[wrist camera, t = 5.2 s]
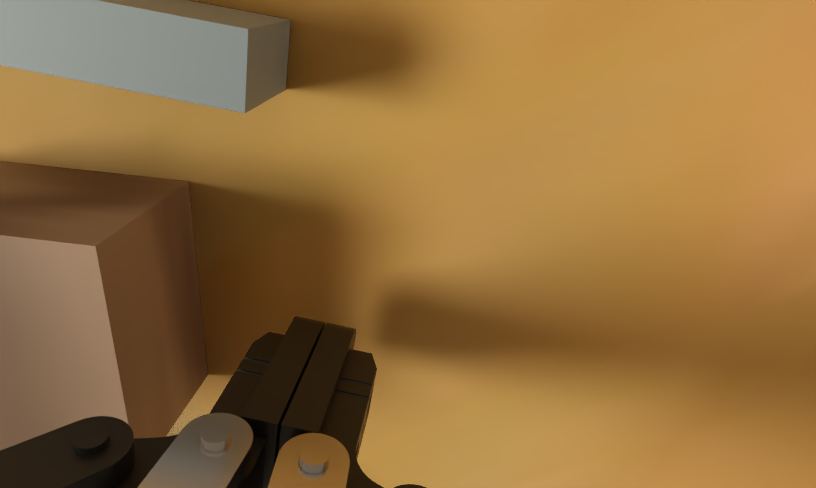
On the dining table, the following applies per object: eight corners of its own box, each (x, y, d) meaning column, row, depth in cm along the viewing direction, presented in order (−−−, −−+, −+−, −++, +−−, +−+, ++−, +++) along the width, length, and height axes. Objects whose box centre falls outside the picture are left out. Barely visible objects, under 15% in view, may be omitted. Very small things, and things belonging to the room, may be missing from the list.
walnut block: (191, 178, 14) (95, 246, 11) (210, 370, 17) (137, 476, 13) (-30, 155, 15) (-194, 212, 11) (20, 345, 17) (-99, 440, 14)
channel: (290, 19, 12) (248, 29, 10) (256, 501, 19) (225, 572, 17) (-193, -72, 13) (-339, -84, 10) (-63, 431, 19) (-136, 492, 17)
